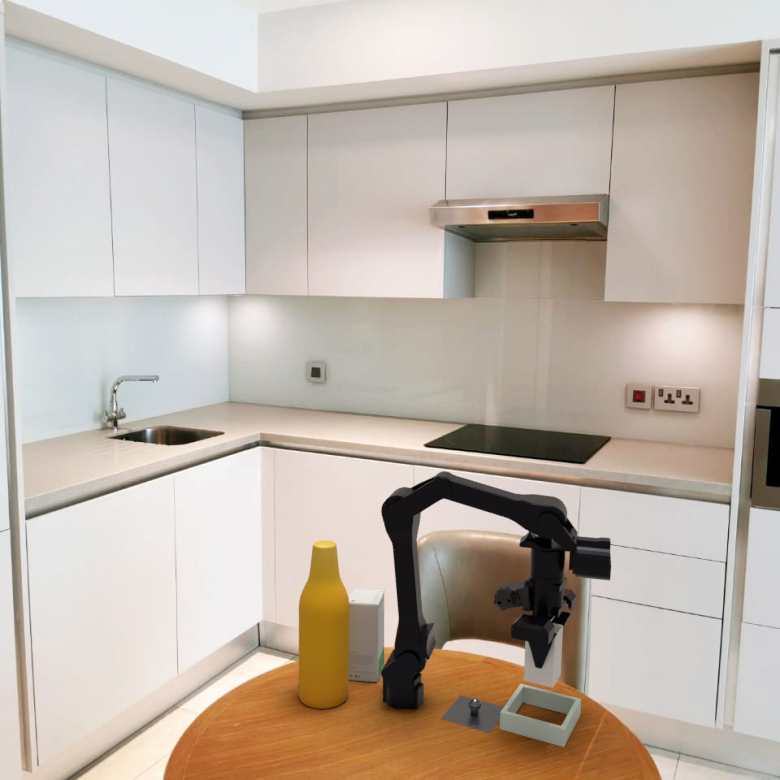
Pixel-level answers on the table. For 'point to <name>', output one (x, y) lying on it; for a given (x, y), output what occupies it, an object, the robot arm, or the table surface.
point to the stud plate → (473, 713)
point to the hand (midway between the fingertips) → (543, 661)
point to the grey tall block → (552, 663)
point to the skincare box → (366, 634)
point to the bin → (538, 727)
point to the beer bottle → (323, 632)
